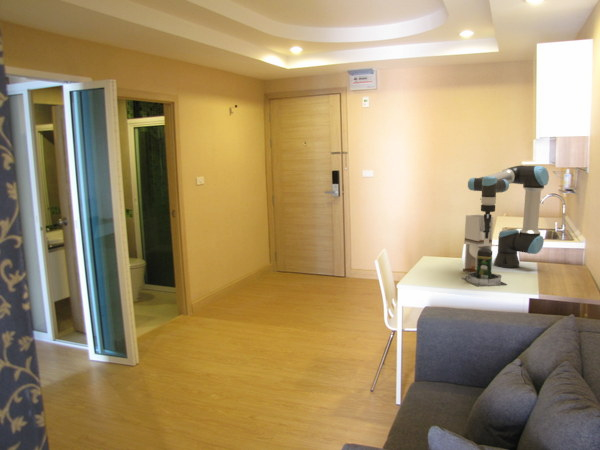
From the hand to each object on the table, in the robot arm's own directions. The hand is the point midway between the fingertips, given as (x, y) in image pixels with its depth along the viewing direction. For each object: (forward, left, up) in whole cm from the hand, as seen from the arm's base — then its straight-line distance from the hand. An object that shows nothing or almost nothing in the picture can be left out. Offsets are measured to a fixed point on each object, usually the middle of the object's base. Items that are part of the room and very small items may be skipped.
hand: (486, 241), depth 282 cm
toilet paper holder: (-6, -19, -23) cm, 30 cm away
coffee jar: (+1, +1, -23) cm, 23 cm away
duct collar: (0, 0, -23) cm, 23 cm away
